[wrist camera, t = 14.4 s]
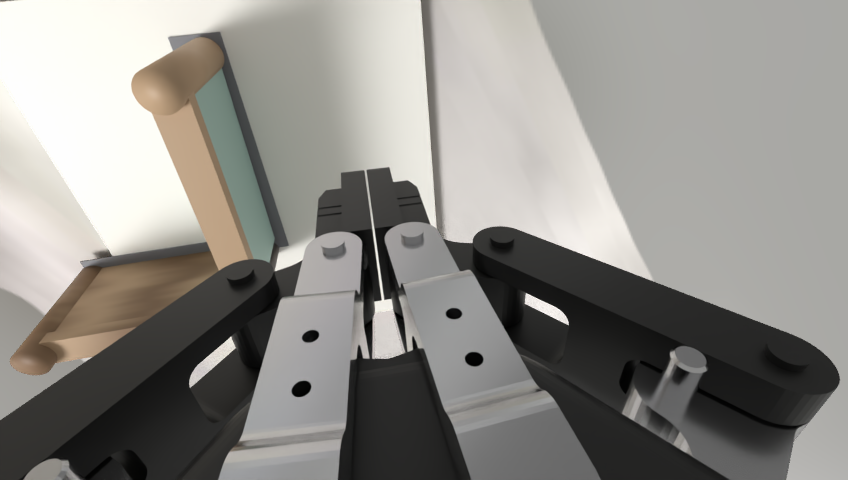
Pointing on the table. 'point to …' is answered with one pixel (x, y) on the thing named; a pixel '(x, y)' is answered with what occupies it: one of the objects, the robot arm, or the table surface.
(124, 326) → the fixed fence section
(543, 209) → the table surface
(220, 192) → the tan and green panel
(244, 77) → the board
